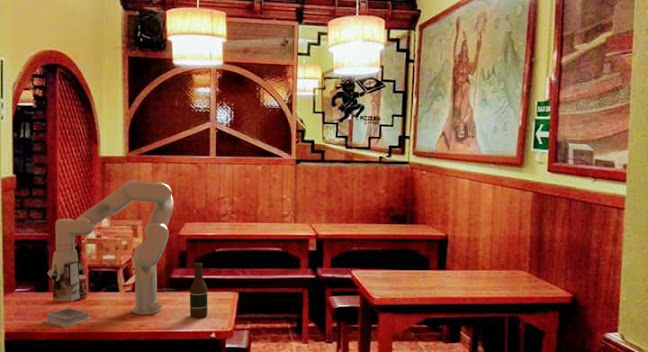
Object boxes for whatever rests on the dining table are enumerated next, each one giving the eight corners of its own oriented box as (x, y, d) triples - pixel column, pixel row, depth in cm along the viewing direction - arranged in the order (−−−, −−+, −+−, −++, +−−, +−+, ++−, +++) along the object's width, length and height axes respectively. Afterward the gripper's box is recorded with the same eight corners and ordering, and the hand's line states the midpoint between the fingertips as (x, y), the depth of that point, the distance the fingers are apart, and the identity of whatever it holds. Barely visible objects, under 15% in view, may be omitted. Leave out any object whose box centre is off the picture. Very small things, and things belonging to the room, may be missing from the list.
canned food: (76, 301, 282) (76, 279, 281) (66, 299, 286) (65, 277, 285) (90, 298, 288) (89, 276, 288) (80, 295, 293) (79, 274, 292)
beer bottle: (211, 314, 262) (210, 262, 261) (202, 319, 255) (201, 265, 253) (196, 312, 265) (195, 260, 263) (186, 317, 258) (185, 264, 256)
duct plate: (91, 318, 255) (91, 311, 255) (63, 327, 244) (62, 320, 243) (71, 313, 263) (71, 306, 263) (42, 322, 251) (42, 314, 251)
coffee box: (80, 297, 255) (79, 261, 254) (71, 301, 248) (70, 264, 247) (62, 296, 257) (61, 260, 255) (52, 300, 250) (51, 263, 249)
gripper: (77, 243, 260) (78, 282, 261) (41, 249, 245) (42, 290, 247) (88, 245, 256) (89, 284, 258) (52, 251, 242) (53, 293, 243)
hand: (66, 287), depth 252 cm, fingers closed on coffee box, 8 cm apart
